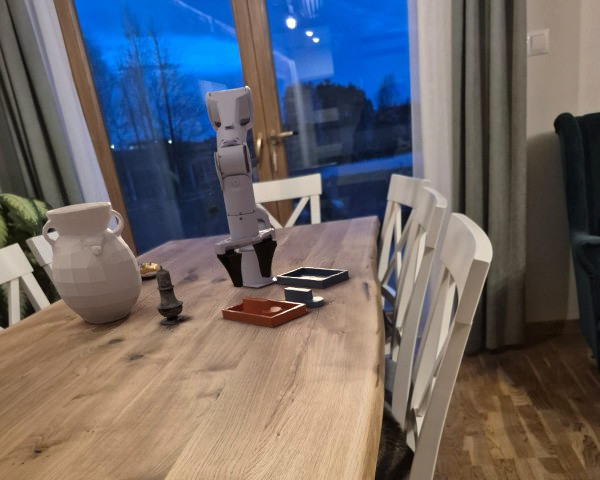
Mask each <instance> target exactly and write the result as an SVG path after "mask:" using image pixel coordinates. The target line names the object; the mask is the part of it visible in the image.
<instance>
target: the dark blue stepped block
mask: <svg viewBox="0 0 600 480" xmlns="http://www.w3.org/2000/svg"><path fill="white" fill-rule="evenodd" d="M283 293H284V301H286V302H293V303H301V304H306V308H311V309H312V308H319V307H321V306H324V305H325V301H324V299H325V298H324V297H323V296H314V294H313V289H311V288H301V287H294V286H293V287H292V286H287V287H285V288H283Z"/></svg>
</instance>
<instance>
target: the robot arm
mask: <svg viewBox="0 0 600 480" xmlns="http://www.w3.org/2000/svg"><path fill="white" fill-rule="evenodd" d="M204 96H205V99H204V100H205V106H206V112H207V116H208V120H209V122H210V124H211V127H212V129H213V131H214V132H216V149H217V151H214V153H213V157H214V165H215V166H214V167H215V171H216V174H217V177H218V180H219V184H220V190H221V191H222V193H223V194H222V195H223V200H224V205H225V211H226V218H227V225H228V230H229V236H230V237H229V238H226V239H224V240H221V241H219V242H216V243H213V248H214V253H215V255H216V258H217V259H218V261H219V262H220V263H221V265H223V267H224V269H225V270H226V273H227V274H228V276H229V278H230V280H231V282H232V286H233V287H234V288H238V289H240V288H243V287H247V288H255V289H259V288H262V287H265V286H268V285H270V284H273V283H277V278H276V277H275V276H273V268H272V266H273V259H274V255H275V252H276V250H277V247H278V241H277V240H275V239H277V233H276V229H275V228H272V226H271V220H270V216H269V212H268V211H267V210H266V209H264V208H263V207H262V206H260V205H258V204H256V197H255V191H254V184H253V178H252V177H253V165H252V160H251V154H250V149H249V147H248V143H247V135H248V131H249V130H250V129H252V128H254V127H255V122H256V121H255V111H254V103H253V95H252V89H251V88H250V87H249V86H248V85H245V87H238V88H232V89H223V90H216V91H211V92H210V91H207V92H206V94H205V95H204Z"/></svg>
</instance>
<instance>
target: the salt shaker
mask: <svg viewBox="0 0 600 480" xmlns="http://www.w3.org/2000/svg"><path fill="white" fill-rule="evenodd" d="M159 268H160V270H159V271H156V273H155V277H156V283H157V288H156V289H157V291H159V296H160V297H159V298H160V303H158V304H157V305H156V306H155V309H157V311H158V313H159V315H160V316H161V317H163V319H162V320H161V321H160V324H161V325H164V326H165V325H175V324H178V323H182V322H184V321H185V320H186V317H185V316H183V315H181V313H182V312H183V307H184V306H183V304H184V301H183V300H178V299H177V297H176V295H175V291H174V287H175V285H174V284H173V283H172V279H171V274H170V271H169V270H167V269H165V268H164V266H162V265H161V264H160V265H159Z"/></svg>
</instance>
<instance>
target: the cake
mask: <svg viewBox="0 0 600 480" xmlns="http://www.w3.org/2000/svg"><path fill="white" fill-rule="evenodd" d="M137 263H138V266H139V268H140V273H141V275H142V277H145V276H146V274H147V273H155V272H156V273H157V271H159V270H160V268H159V267H160V265H159V264H158V263H154V262H149V263H147V262H138V261H137Z"/></svg>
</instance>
